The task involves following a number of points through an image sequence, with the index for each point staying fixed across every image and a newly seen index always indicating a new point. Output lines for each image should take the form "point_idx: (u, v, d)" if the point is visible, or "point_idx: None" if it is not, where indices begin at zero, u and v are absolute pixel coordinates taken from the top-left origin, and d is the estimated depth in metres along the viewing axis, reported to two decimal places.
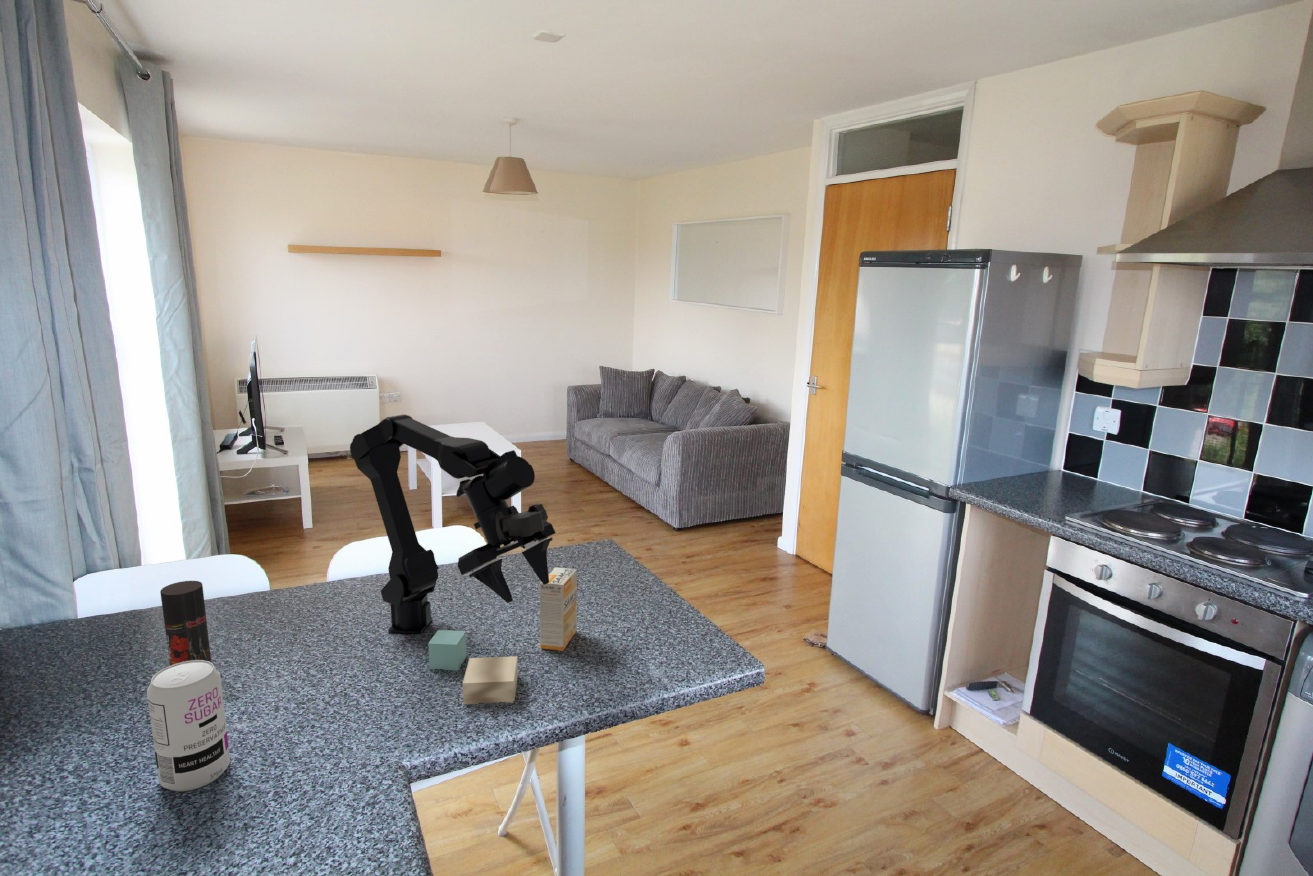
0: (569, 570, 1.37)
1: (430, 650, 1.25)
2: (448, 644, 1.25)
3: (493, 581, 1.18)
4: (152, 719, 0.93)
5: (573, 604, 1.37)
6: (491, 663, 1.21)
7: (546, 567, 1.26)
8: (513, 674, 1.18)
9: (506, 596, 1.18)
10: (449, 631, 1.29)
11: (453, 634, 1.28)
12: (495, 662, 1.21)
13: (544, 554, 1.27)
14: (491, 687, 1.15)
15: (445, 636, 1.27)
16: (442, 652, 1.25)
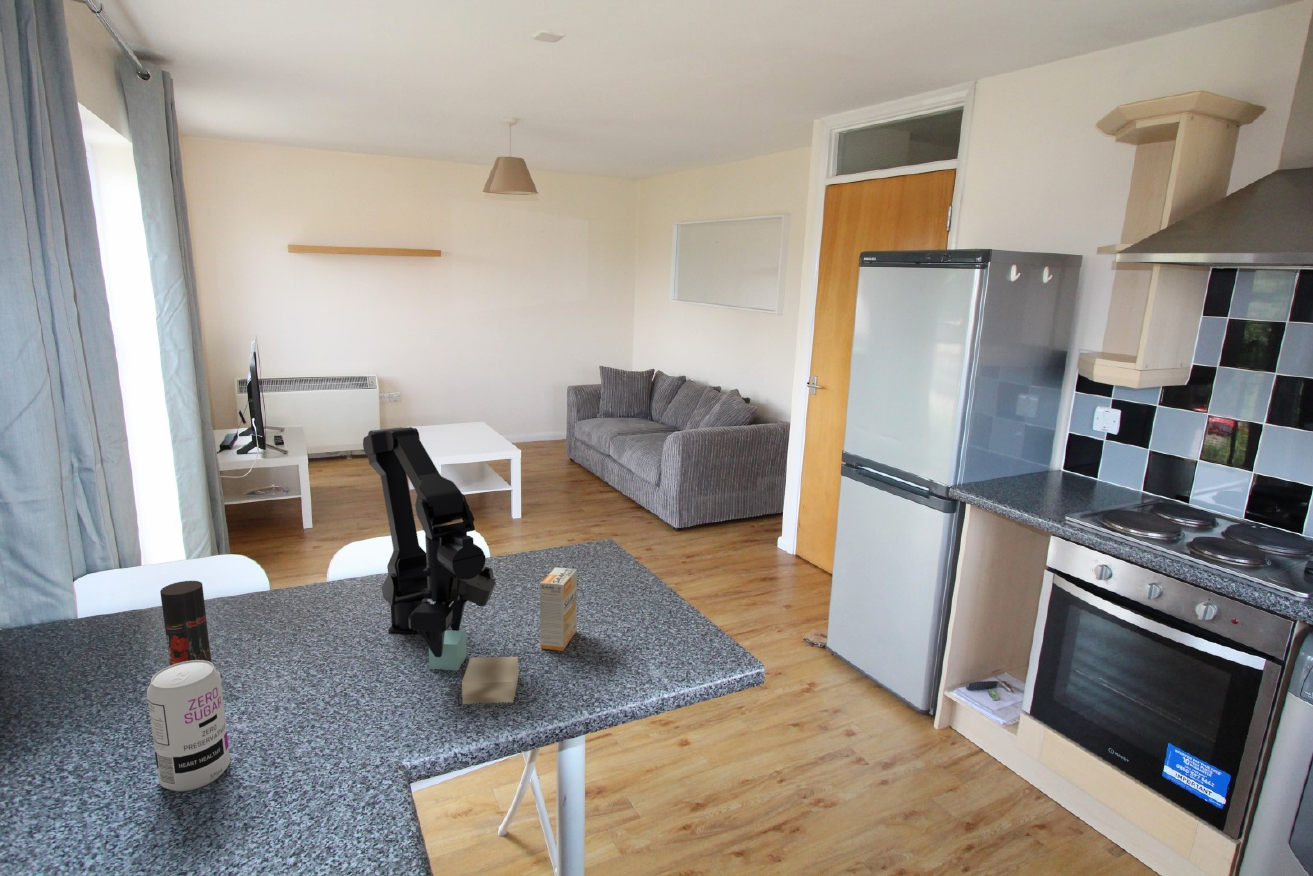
0: (569, 570, 1.37)
1: (430, 650, 1.25)
2: (448, 644, 1.25)
3: (432, 637, 1.21)
4: (152, 719, 0.93)
5: (573, 604, 1.37)
6: (491, 663, 1.21)
7: (461, 617, 1.32)
8: (513, 674, 1.17)
9: (437, 652, 1.22)
10: (449, 631, 1.29)
11: (453, 634, 1.28)
12: (496, 662, 1.21)
13: (464, 605, 1.32)
14: (490, 687, 1.15)
15: (445, 636, 1.27)
16: (442, 652, 1.25)
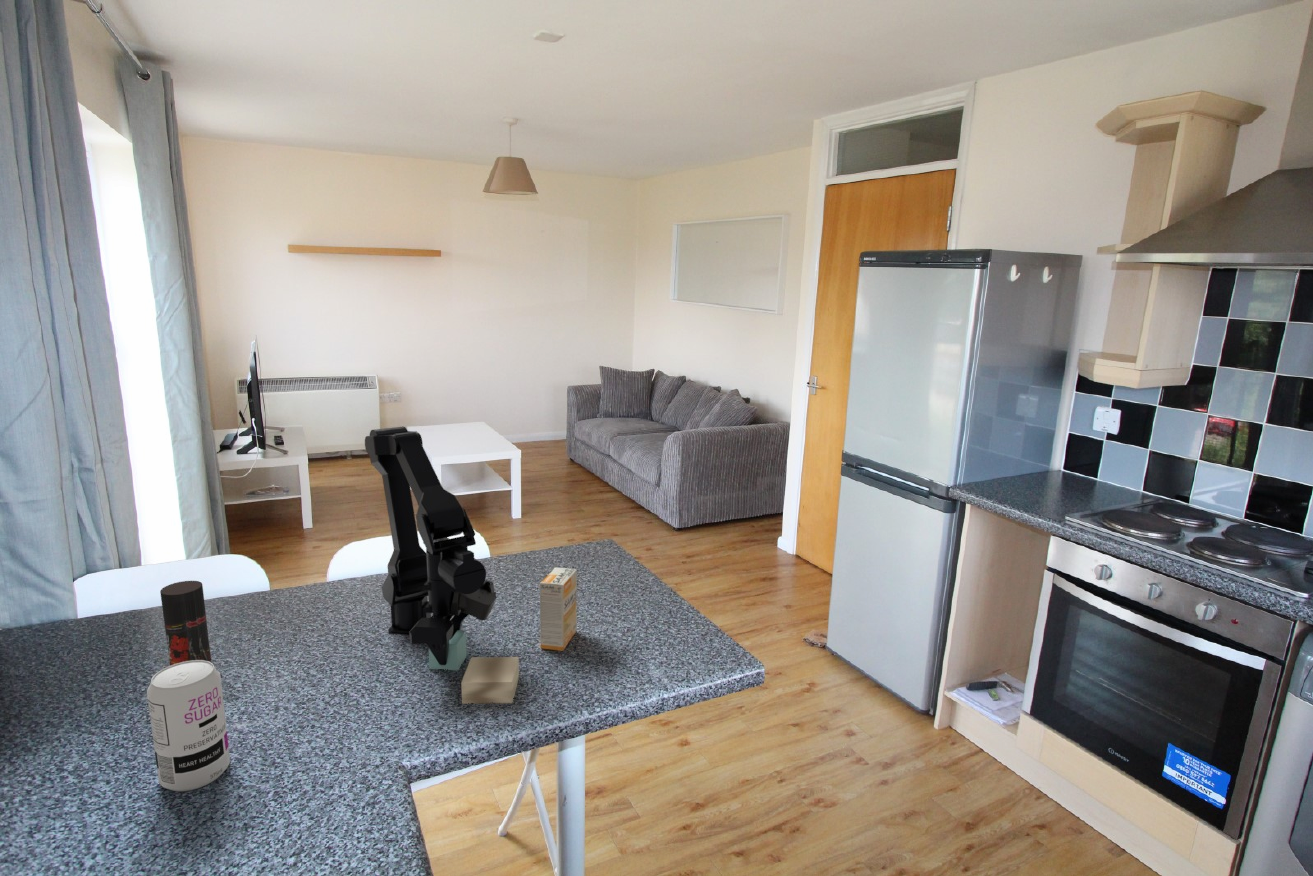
0: (569, 570, 1.37)
1: None
2: None
3: (437, 645, 1.23)
4: (152, 719, 0.93)
5: (573, 604, 1.37)
6: (492, 663, 1.21)
7: None
8: (512, 675, 1.17)
9: (442, 660, 1.25)
10: None
11: None
12: (496, 662, 1.21)
13: (461, 623, 1.31)
14: (489, 687, 1.15)
15: None
16: None
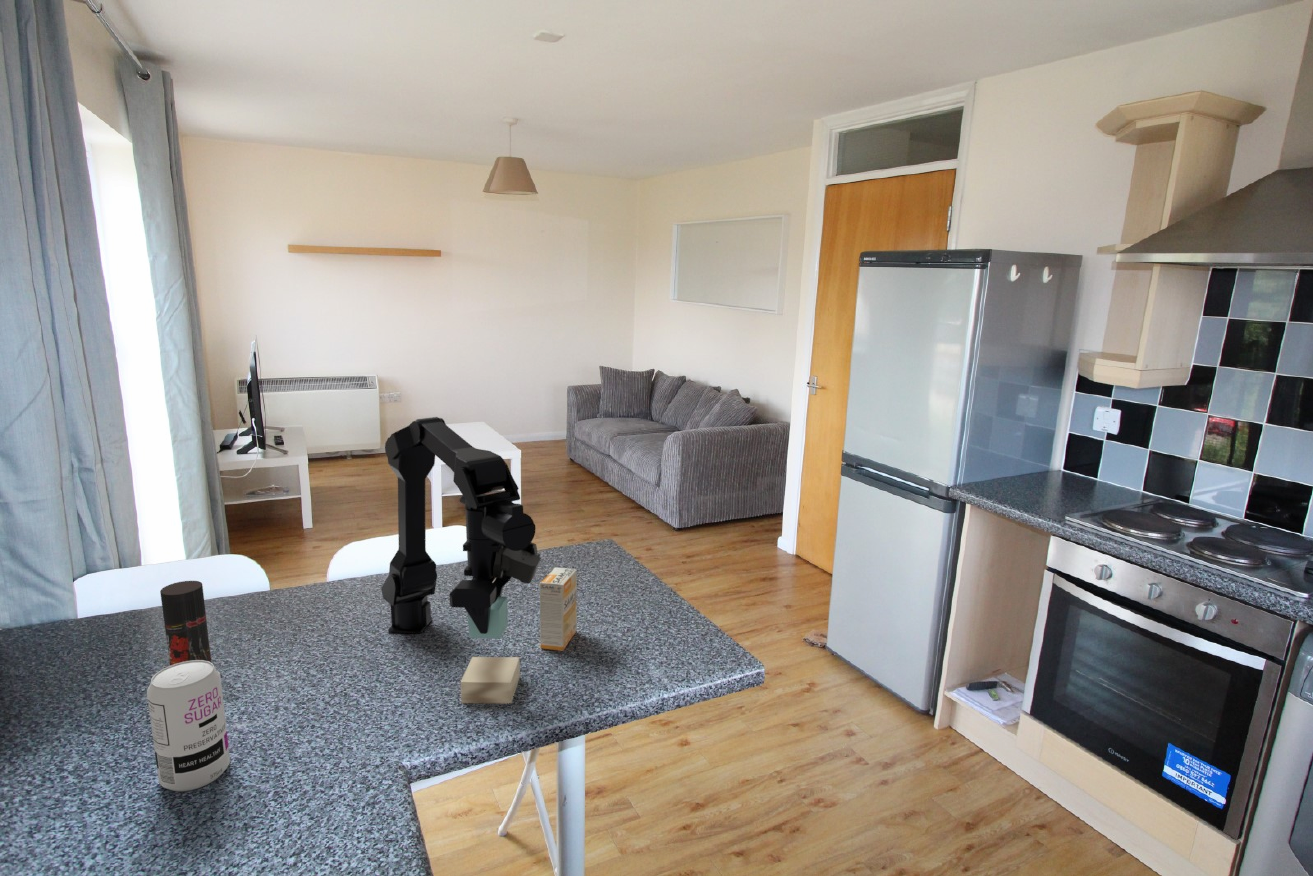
0: (569, 570, 1.37)
1: None
2: None
3: (478, 611, 1.13)
4: (152, 719, 0.93)
5: (573, 604, 1.37)
6: (492, 663, 1.21)
7: None
8: (511, 675, 1.17)
9: (483, 628, 1.14)
10: None
11: None
12: (496, 663, 1.21)
13: (502, 589, 1.20)
14: (488, 688, 1.15)
15: None
16: None
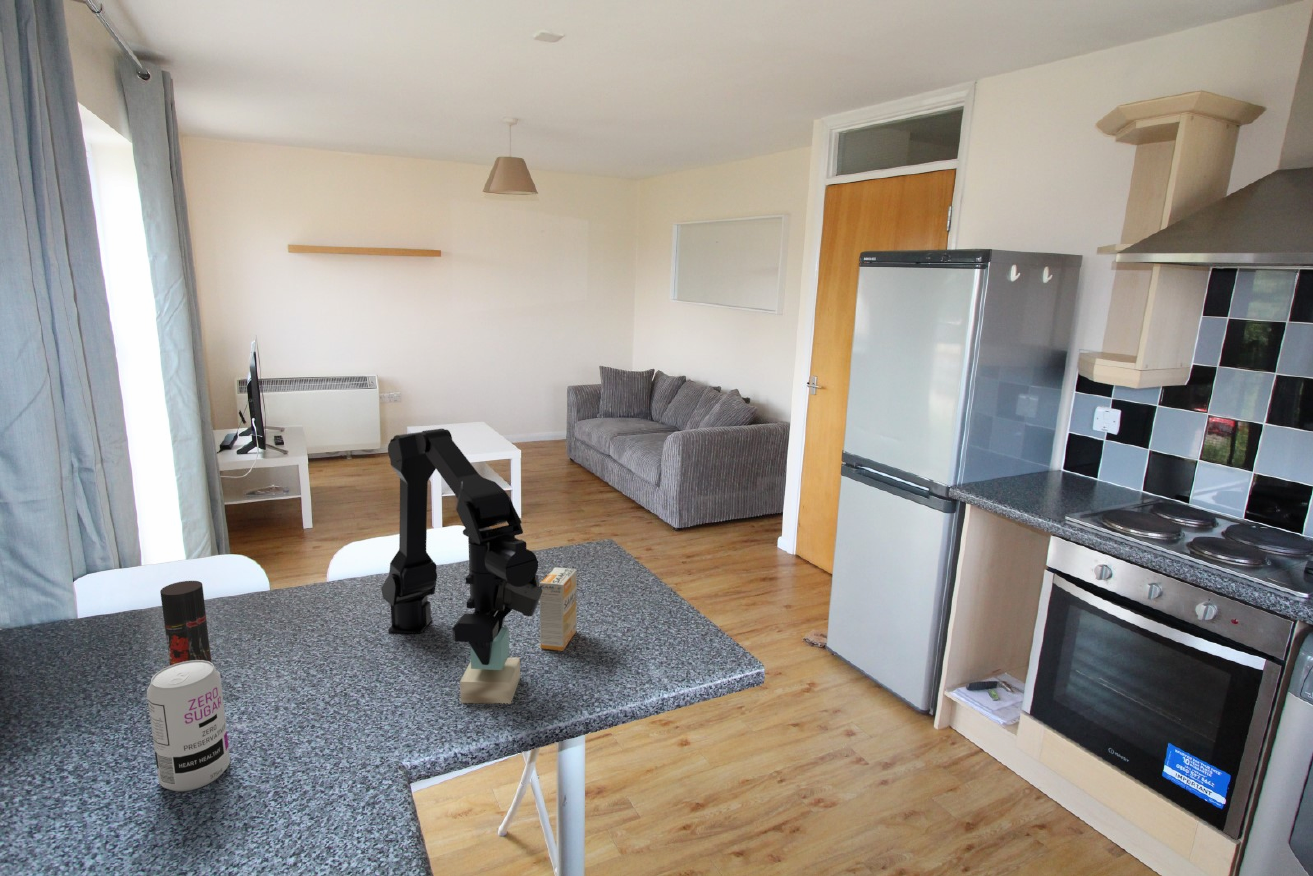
0: (569, 570, 1.37)
1: None
2: None
3: (480, 643, 1.14)
4: (152, 719, 0.93)
5: (573, 604, 1.37)
6: None
7: None
8: (511, 675, 1.17)
9: (485, 659, 1.15)
10: None
11: None
12: None
13: None
14: (488, 688, 1.15)
15: None
16: None
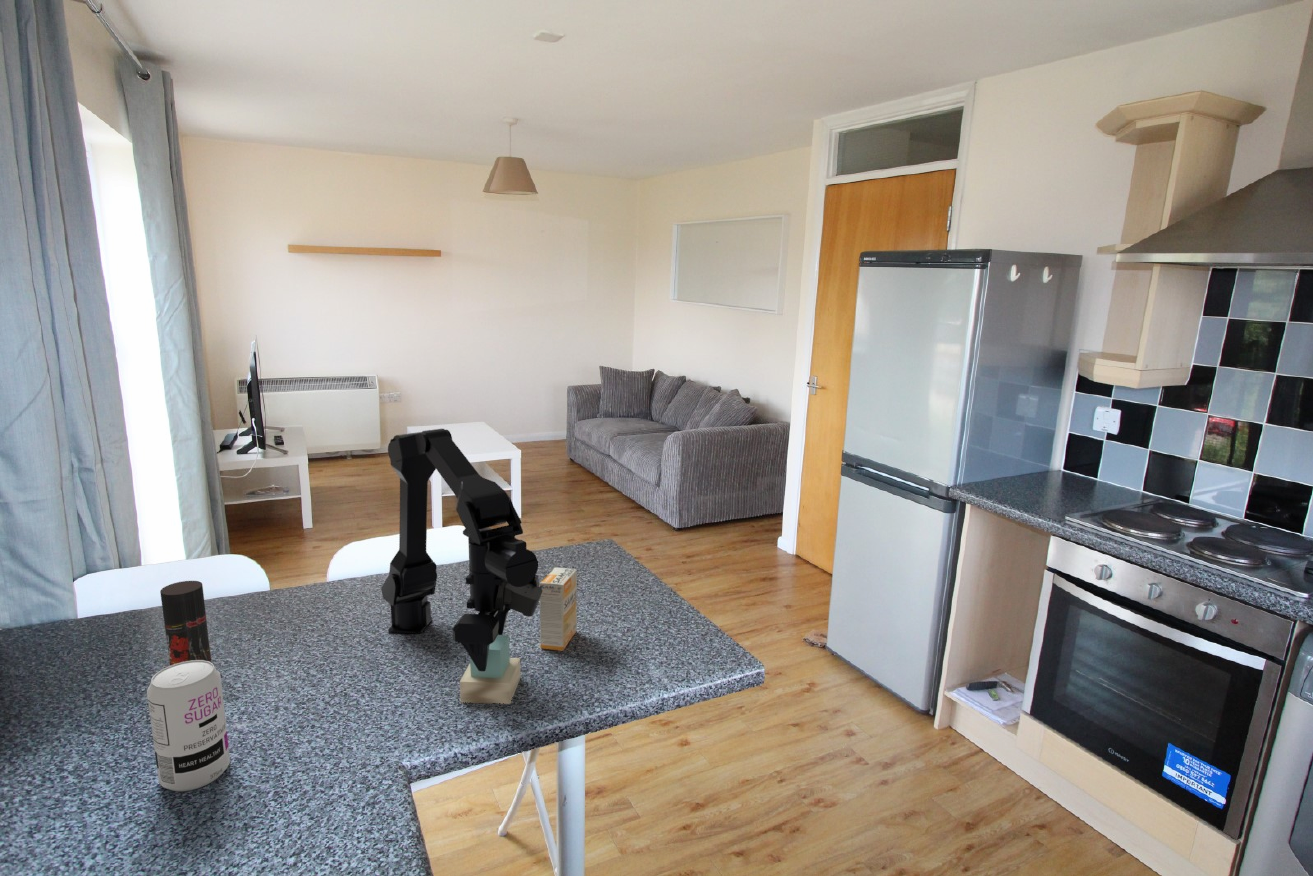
0: (569, 570, 1.37)
1: None
2: (491, 649, 1.16)
3: (477, 649, 1.12)
4: (152, 719, 0.93)
5: (573, 604, 1.37)
6: None
7: (504, 627, 1.23)
8: (511, 676, 1.17)
9: (481, 666, 1.13)
10: None
11: (495, 639, 1.19)
12: None
13: (507, 614, 1.23)
14: (487, 688, 1.15)
15: None
16: None
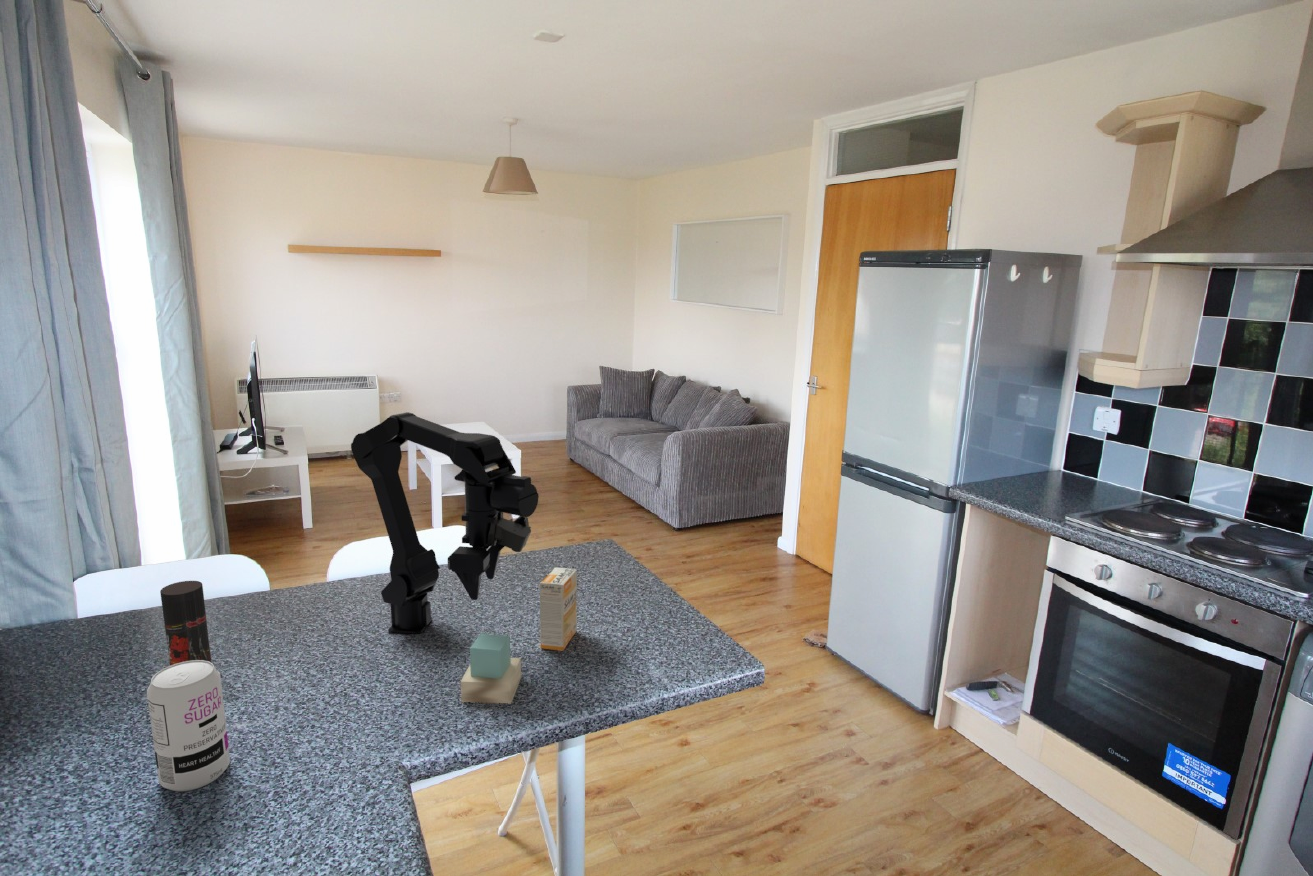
0: (569, 570, 1.37)
1: (472, 655, 1.16)
2: (491, 649, 1.16)
3: (469, 579, 1.25)
4: (152, 719, 0.93)
5: (573, 604, 1.37)
6: None
7: (496, 565, 1.36)
8: (512, 676, 1.17)
9: (474, 595, 1.26)
10: (492, 635, 1.20)
11: (496, 639, 1.19)
12: None
13: (499, 553, 1.36)
14: (488, 688, 1.15)
15: (488, 641, 1.18)
16: (484, 657, 1.16)
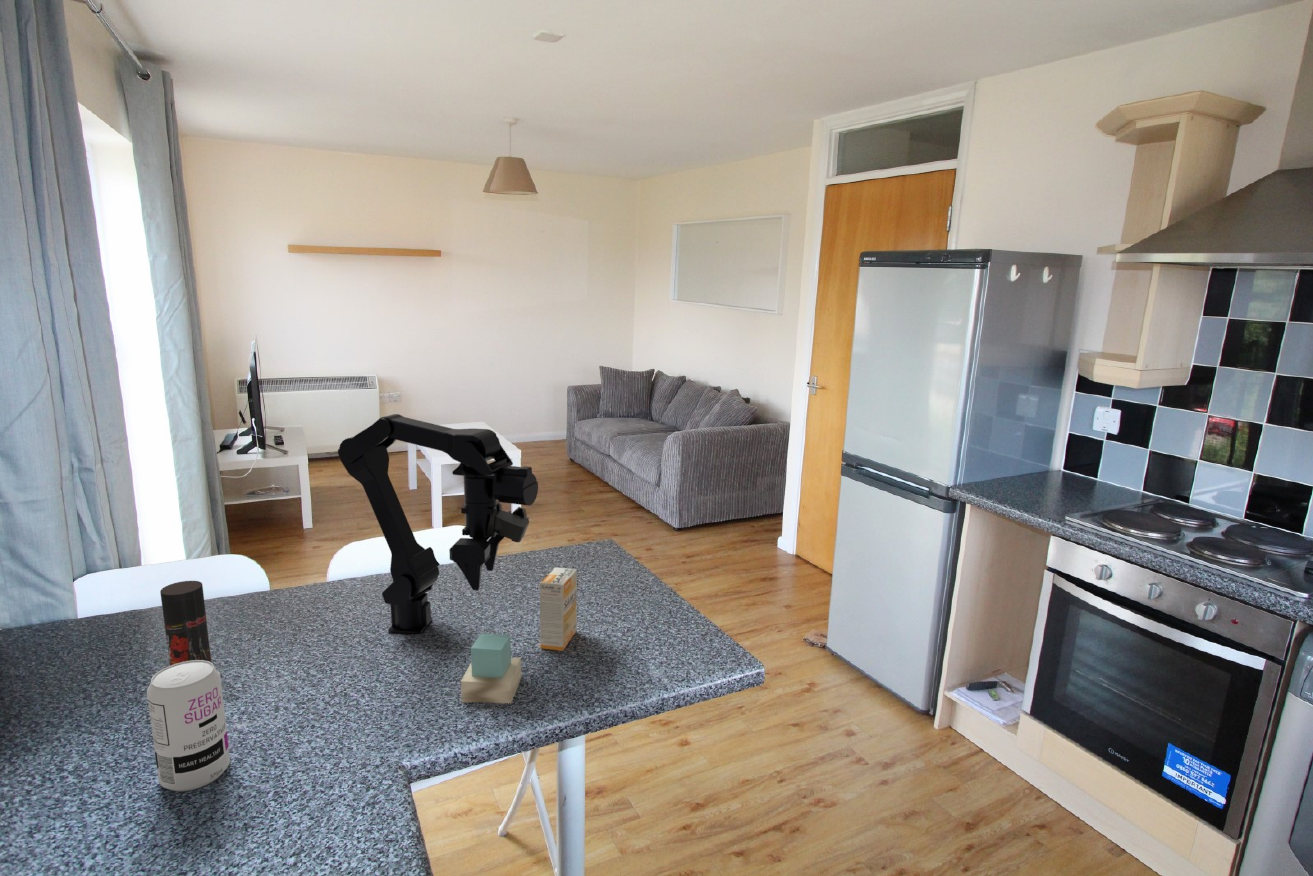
0: (569, 570, 1.37)
1: (473, 655, 1.16)
2: (492, 649, 1.16)
3: (471, 570, 1.28)
4: (152, 719, 0.93)
5: (573, 604, 1.37)
6: None
7: (495, 556, 1.39)
8: (512, 676, 1.17)
9: (475, 585, 1.29)
10: (493, 635, 1.20)
11: (497, 639, 1.19)
12: None
13: (498, 545, 1.39)
14: (488, 687, 1.15)
15: (488, 641, 1.18)
16: (485, 657, 1.16)
